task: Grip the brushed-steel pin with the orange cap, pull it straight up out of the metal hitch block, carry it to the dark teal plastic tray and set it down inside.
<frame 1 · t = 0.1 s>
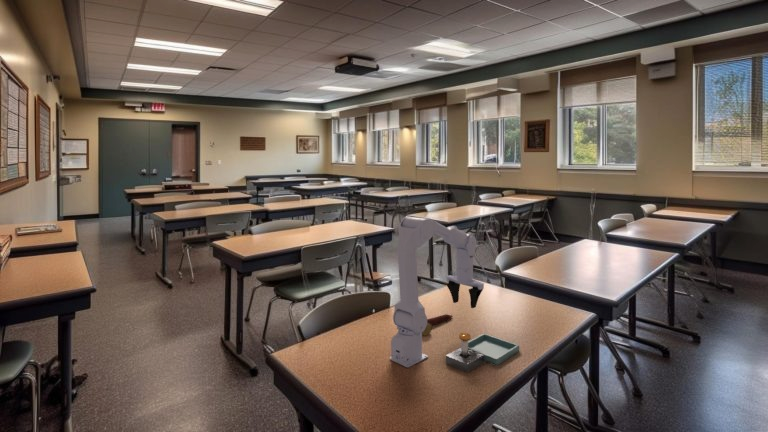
hand: (464, 304, 146), 10 cm above the table, tool pointing down, fingers open, 7 cm apart
gavel: (433, 326, 154), on the table
tray: (489, 351, 132), on the table
steel pin: (464, 349, 124), in the hitch block
hitch block: (464, 363, 124), on the table
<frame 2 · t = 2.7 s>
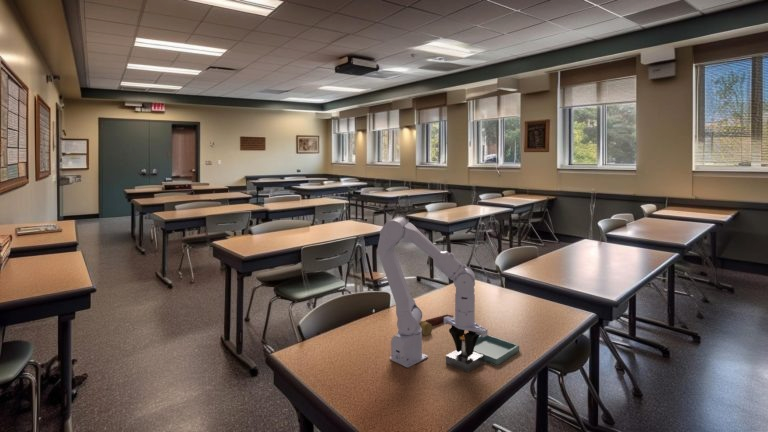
hand: (464, 352, 124), 3 cm above the table, tool pointing down, fingers closed on steel pin, 3 cm apart
steel pin: (464, 349, 124), in the hitch block, touching gripper
everything else where it was.
when the fingers open (5 cm above the table, at t = 6.5 s): steel pin stays where it is, resting on tray.
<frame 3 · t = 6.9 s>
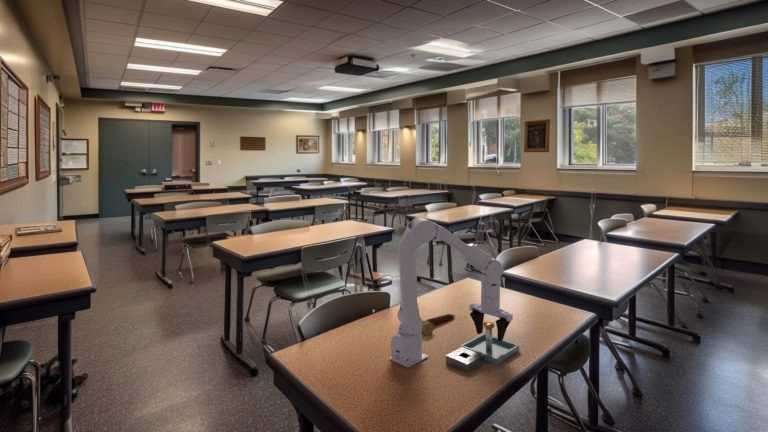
hand: (489, 336, 131), 5 cm above the table, tool pointing down, fingers open, 7 cm apart
steel pin: (488, 337, 131), in the tray
everything else where it was.
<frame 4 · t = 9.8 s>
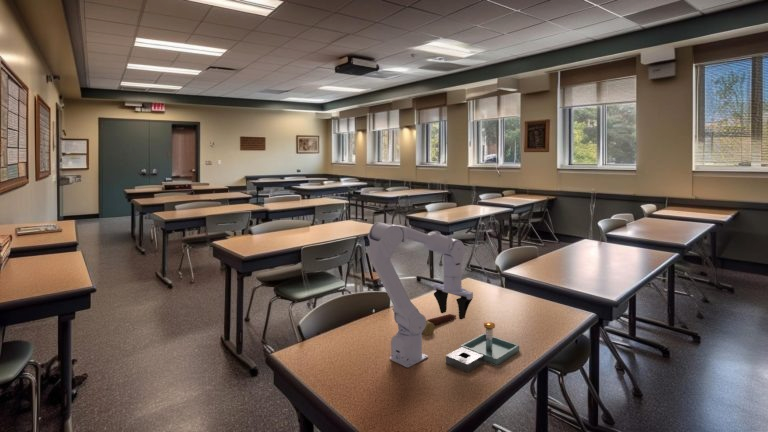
hand: (452, 315, 135), 10 cm above the table, tool pointing down, fingers open, 7 cm apart
at the end: steel pin inside the target area on the tray (0.5 cm from its centre), point 4.9 cm above the tray's base; the gripper is holding nothing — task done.
